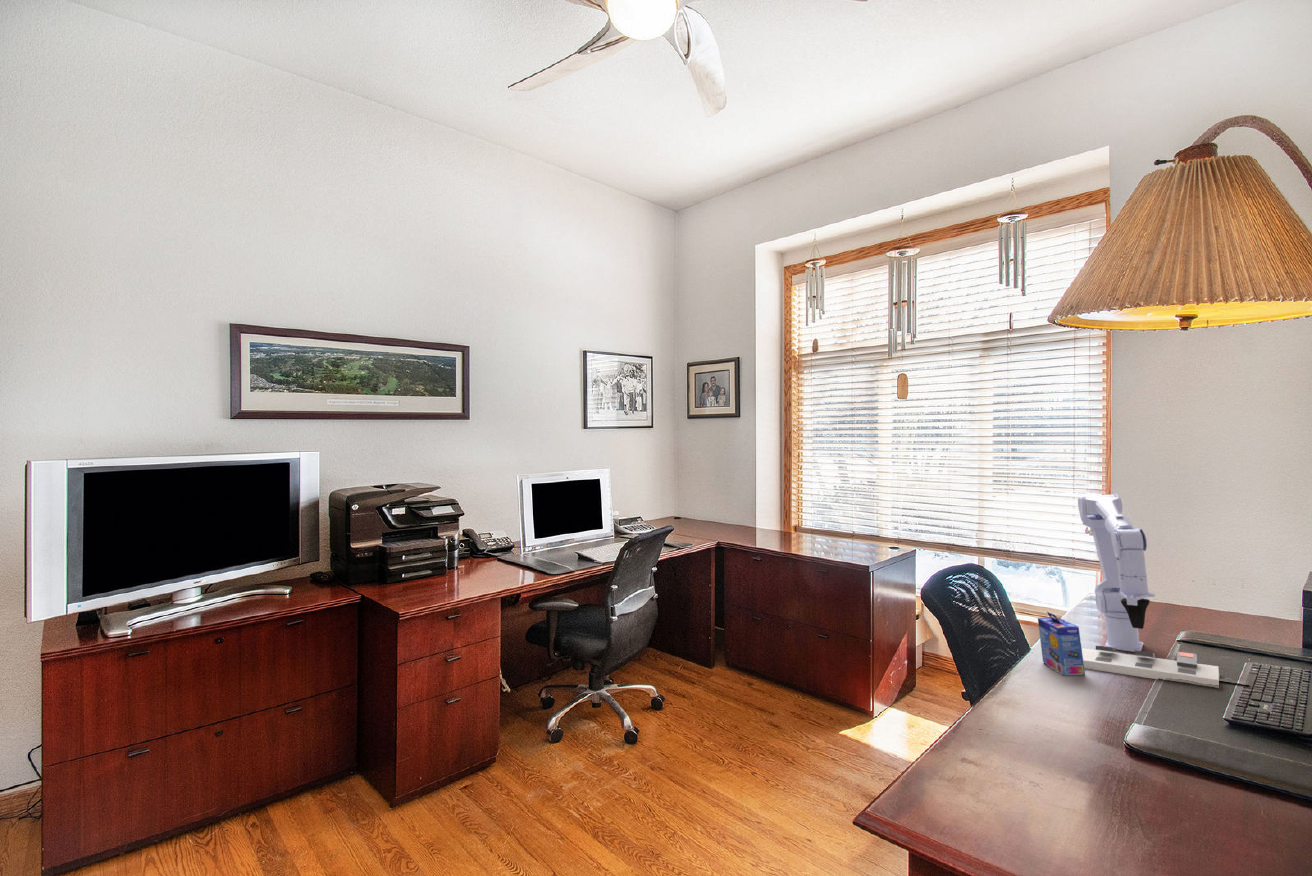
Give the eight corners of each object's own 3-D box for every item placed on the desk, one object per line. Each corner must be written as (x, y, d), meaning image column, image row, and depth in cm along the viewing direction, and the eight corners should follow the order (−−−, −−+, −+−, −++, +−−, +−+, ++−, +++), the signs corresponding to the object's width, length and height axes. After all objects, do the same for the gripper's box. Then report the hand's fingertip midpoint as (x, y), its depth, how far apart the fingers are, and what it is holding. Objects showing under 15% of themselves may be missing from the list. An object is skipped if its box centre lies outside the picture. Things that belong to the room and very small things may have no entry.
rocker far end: (1099, 649, 157) (1098, 645, 158) (1115, 651, 155) (1115, 647, 155) (1095, 649, 154) (1095, 645, 154) (1113, 651, 151) (1112, 647, 152)
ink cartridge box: (1040, 663, 157) (1035, 608, 157) (1062, 662, 156) (1057, 608, 157) (1062, 676, 147) (1056, 618, 148) (1086, 675, 146) (1080, 617, 147)
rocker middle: (1137, 655, 152) (1136, 650, 152) (1155, 657, 149) (1154, 653, 150) (1134, 654, 148) (1134, 649, 149) (1153, 656, 146) (1152, 652, 146)
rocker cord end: (1177, 655, 146) (1176, 651, 146) (1196, 657, 144) (1196, 653, 144) (1177, 665, 143) (1176, 661, 143) (1197, 668, 140) (1196, 664, 140)
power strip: (1083, 655, 160) (1082, 647, 160) (1248, 678, 138) (1247, 669, 138) (1076, 667, 152) (1075, 658, 152) (1250, 693, 130) (1249, 684, 130)
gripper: (1150, 581, 144) (1156, 636, 144) (1154, 571, 155) (1160, 623, 154) (1114, 579, 149) (1120, 632, 149) (1120, 569, 160) (1126, 619, 159)
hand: (1138, 627), depth 152 cm, fingers closed
